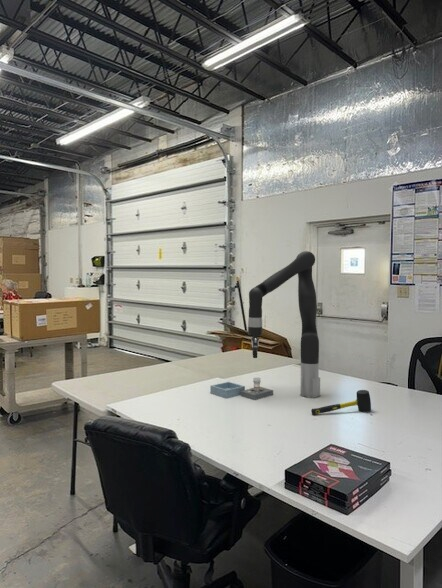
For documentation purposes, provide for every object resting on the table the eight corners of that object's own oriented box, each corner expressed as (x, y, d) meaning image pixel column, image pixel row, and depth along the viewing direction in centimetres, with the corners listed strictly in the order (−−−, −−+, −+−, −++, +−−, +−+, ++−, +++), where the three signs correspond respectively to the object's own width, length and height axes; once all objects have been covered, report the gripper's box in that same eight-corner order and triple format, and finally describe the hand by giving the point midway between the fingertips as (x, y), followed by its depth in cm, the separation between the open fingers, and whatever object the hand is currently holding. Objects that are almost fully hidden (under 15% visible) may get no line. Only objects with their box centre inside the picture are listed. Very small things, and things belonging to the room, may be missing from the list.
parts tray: (244, 393, 219) (244, 386, 219) (226, 398, 210) (226, 390, 210) (228, 388, 229) (228, 381, 228) (210, 393, 220) (210, 385, 220)
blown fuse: (262, 395, 215) (262, 378, 215) (256, 396, 213) (256, 379, 212) (256, 393, 218) (256, 377, 218) (251, 395, 216) (251, 378, 215)
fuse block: (273, 394, 216) (273, 389, 216) (254, 400, 207) (254, 394, 207) (259, 391, 224) (259, 385, 224) (240, 395, 215) (240, 390, 215)
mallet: (315, 417, 181) (315, 396, 181) (309, 413, 187) (309, 392, 187) (373, 412, 188) (374, 391, 187) (366, 408, 194) (366, 388, 193)
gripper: (263, 327, 209) (262, 359, 209) (261, 324, 223) (261, 354, 223) (248, 327, 209) (247, 358, 210) (247, 324, 223) (247, 354, 224)
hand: (254, 356), depth 216 cm, fingers open, 8 cm apart
